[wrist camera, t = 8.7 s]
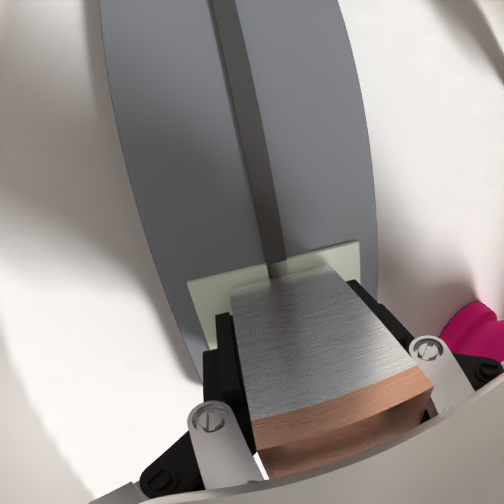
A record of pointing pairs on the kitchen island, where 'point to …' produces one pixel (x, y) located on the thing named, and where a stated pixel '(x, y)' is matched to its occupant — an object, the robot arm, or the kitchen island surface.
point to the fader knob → (321, 372)
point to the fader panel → (241, 146)
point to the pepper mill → (475, 332)
